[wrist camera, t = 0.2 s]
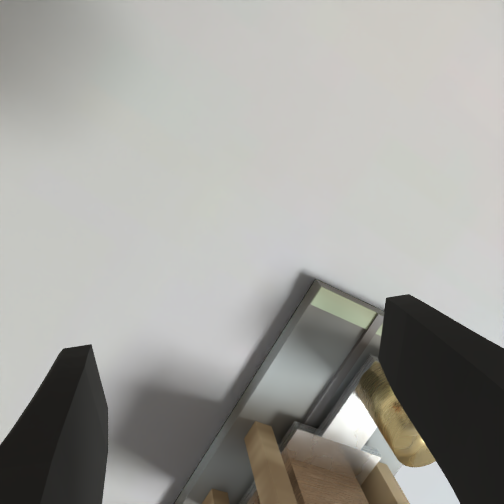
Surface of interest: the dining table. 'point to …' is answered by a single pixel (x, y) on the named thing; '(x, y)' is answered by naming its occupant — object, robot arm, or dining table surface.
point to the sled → (348, 443)
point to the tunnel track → (296, 404)
